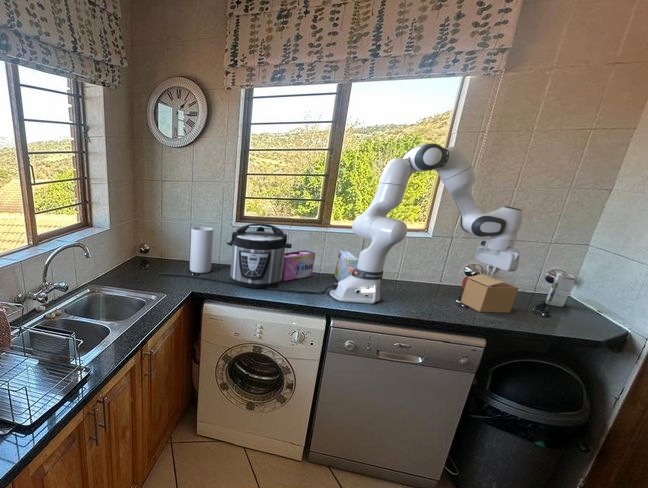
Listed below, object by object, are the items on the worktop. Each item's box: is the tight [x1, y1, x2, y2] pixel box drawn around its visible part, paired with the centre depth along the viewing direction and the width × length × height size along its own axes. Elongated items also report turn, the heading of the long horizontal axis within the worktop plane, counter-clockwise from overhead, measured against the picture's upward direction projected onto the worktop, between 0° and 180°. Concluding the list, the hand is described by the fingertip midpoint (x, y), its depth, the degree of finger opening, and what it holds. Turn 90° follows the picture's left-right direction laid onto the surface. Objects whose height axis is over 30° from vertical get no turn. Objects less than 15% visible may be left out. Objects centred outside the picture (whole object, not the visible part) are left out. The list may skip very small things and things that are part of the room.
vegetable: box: [461, 272, 480, 292], centre depth 201 cm, size 11×10×10 cm
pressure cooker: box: [226, 222, 293, 289], centre depth 212 cm, size 30×28×32 cm
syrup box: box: [544, 272, 576, 308], centre depth 186 cm, size 6×6×14 cm
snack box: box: [333, 250, 359, 282], centre depth 217 cm, size 21×6×15 cm, turn 168°
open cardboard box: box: [460, 279, 520, 314], centre depth 183 cm, size 13×13×12 cm
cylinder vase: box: [189, 226, 214, 274], centre depth 235 cm, size 12×12×25 cm
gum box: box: [281, 249, 316, 282], centre depth 226 cm, size 24×8×14 cm, turn 118°
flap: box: [467, 273, 505, 286], centre depth 180 cm, size 6×13×1 cm, turn 177°
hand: (490, 275), depth 179 cm, fingers closed
